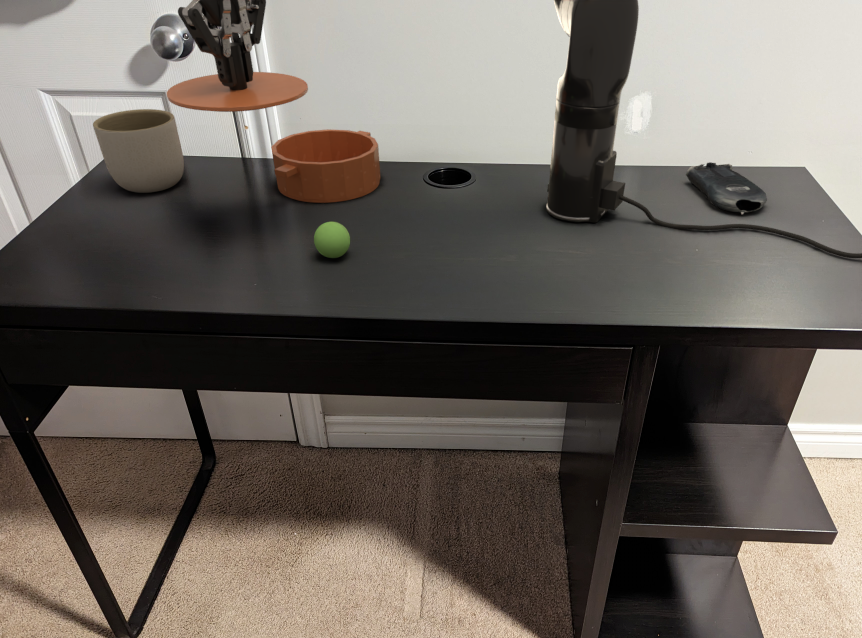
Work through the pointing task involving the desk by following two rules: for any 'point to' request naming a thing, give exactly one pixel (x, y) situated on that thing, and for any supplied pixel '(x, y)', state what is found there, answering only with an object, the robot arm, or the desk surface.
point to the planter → (141, 149)
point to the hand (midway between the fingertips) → (237, 82)
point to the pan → (326, 165)
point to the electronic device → (727, 187)
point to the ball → (332, 239)
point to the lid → (237, 90)
